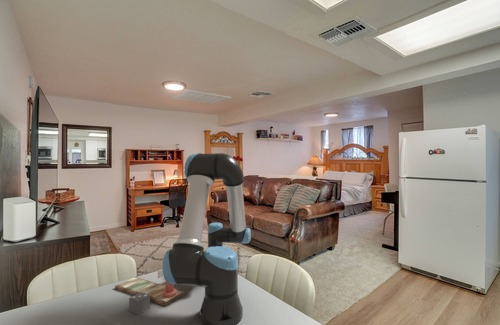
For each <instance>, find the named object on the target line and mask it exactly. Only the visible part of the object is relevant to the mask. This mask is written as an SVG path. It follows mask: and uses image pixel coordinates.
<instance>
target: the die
mask: <svg viewBox="0 0 500 325" xmlns="http://www.w3.org/2000/svg"><path fill="white" fill-rule="evenodd" d="M128 300H129V302H128V311H129V312H130V313H132V314H135V315H137V316H139V315H141V314H143V313H144V312H146V311H148V310H149V309H150V308H151V301H150V295H149V294H146V293H143V292H140V293H138V294H136V295H132V296H131V297H128Z"/></svg>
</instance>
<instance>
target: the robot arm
mask: <svg viewBox="0 0 500 325" xmlns="http://www.w3.org/2000/svg"><path fill="white" fill-rule="evenodd" d="M183 167H184V171H183V172H184V176H185V178H186V179H187V182H188V184H189V186H188V192H187V197H186V201H185V206H184V211H183V216H182V221H181V225H180V230H179V235H178V238H177V239H178V240H176V241H175V242H173V243H172V248H171V249H168V250H167V251H166V252H165V254H164V256H163V258H162V267H161V269H159V270H158V271H157V278H159V279H160V278H162V277H163V279H164V280H165V283H166V282H167V283H169V284H174V285H176V286H190V287H192V286H193V287H203V288H204V297H203V301H202V303H201V307H200V310H199V321H200V320H201V321H200V322H201V324H203V325H235V324H236V323H237V324H239V323H240V322H241V320H242V319H243V317H244V316H243V312H244V311H243V310H244V309H243V305H242V303H241V299H240V295H239V292H238V290H239V289H238V282H239V281H238V276H239V274H238V273H239V272H238V271H239V269H238V268H239V264H238V263H239V262H238V254H237V253H236V252H235V251H234V250H233V249H232V248H229V247H227V246H225V245H224V244H223V243H228V244H230V243H231V244H241V245H242V244H249V243H250V242H251V236H252V231H251V229H250V228H249V227H247V224H246V213H245V202H244V200H245V199H244V192H243V191H244V190H243V184H244V183H245V177H244V173H243V170H242V167H241V165H240V163H239V162H238V161H237V160H236V159H235V158H234V157H233V156H231V155H229V154H227V153H222V152H220V153H201V152H198V153H192V154H190V155H189V156H187V159H186V160H185V162H184V166H183ZM215 180H222V183H223V186H225V191H226V198H227V207H228V215H229V223H230V227H226V226H223V223H221V222H211V223H209V224H208V226H207V248H206V249H205V247H204V245H203V244H202V238H203V231H204V224H205V220H206V218H205V217H206V212H207V206H208V201H209V200H208V199H209V195H210V188H211V187H213V186H214V185H215ZM204 249H205V250H204ZM239 321H240V322H239ZM237 324H236V325H237Z"/></svg>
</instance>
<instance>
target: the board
mask: <svg viewBox="0 0 500 325" xmlns="http://www.w3.org/2000/svg"><path fill="white" fill-rule="evenodd" d="M165 289H166V285H164V284H160V283H157V282H154V281H150V280H146V279H143V278H140V277H136V276H135V277H131V278H130V279H128V280H125V281H122V282H121V283H119V284H117V285H115V286H114V290H117V291H120V292H123V293H127V294H129V295H132V296H134V295H136V294H138V293H140V292H143V293H146V294H149V295H150V302H152V303H154V304H158V305H161V306H163V307H167V306H169V305H170V304H172V303H174V302H175V301H176V300H178V299H180V298H181V297H183V296H184V295H185V291H184V290H180V289H177V288H175V289H176V295H175V296H174V297H171V298H165V297H164V296H163V291H164V290H165Z"/></svg>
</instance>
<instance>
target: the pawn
mask: <svg viewBox="0 0 500 325" xmlns="http://www.w3.org/2000/svg"><path fill="white" fill-rule="evenodd" d="M174 285H175V284H169V283H167V282H166V281H165V286H166V289H165V290H164V291H163V296H164V297H165V298H171V297H174V296H175V295H176V289H177V288H174V287H175V286H174Z"/></svg>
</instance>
